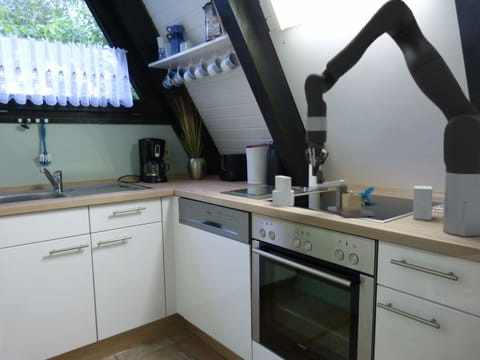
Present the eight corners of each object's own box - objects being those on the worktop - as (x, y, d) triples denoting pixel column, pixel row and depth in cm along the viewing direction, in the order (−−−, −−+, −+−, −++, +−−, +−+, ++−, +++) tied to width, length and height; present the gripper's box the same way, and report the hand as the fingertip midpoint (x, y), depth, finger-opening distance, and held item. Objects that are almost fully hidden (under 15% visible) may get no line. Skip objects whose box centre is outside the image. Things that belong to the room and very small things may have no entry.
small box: (431, 220, 117) (432, 189, 116) (412, 219, 120) (413, 188, 119) (430, 215, 124) (432, 186, 123) (413, 214, 127) (414, 185, 126)
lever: (341, 184, 140) (341, 168, 139) (347, 185, 137) (348, 168, 136) (314, 187, 132) (314, 170, 131) (320, 188, 129) (320, 171, 128)
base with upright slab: (269, 203, 154) (268, 176, 153) (287, 202, 157) (287, 175, 156) (278, 207, 146) (278, 178, 144) (297, 205, 149) (297, 177, 148)
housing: (361, 211, 128) (361, 191, 128) (348, 212, 128) (348, 192, 127) (354, 208, 133) (355, 189, 133) (342, 209, 133) (342, 190, 132)
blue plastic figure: (362, 197, 156) (376, 183, 149) (371, 207, 154) (386, 193, 147) (347, 203, 150) (360, 189, 143) (356, 214, 147) (370, 200, 140)
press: (374, 216, 125) (374, 190, 124) (344, 218, 124) (345, 191, 123) (353, 207, 141) (353, 184, 140) (326, 209, 139) (326, 185, 138)
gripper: (336, 129, 127) (334, 177, 129) (314, 129, 139) (313, 173, 141) (318, 129, 124) (317, 178, 126) (298, 129, 136) (297, 174, 138)
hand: (315, 176), depth 134 cm, fingers closed
